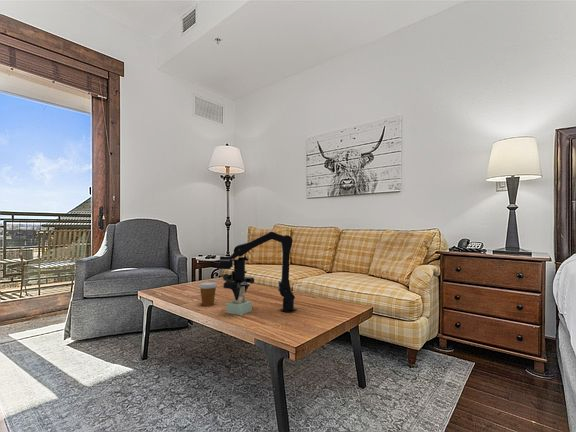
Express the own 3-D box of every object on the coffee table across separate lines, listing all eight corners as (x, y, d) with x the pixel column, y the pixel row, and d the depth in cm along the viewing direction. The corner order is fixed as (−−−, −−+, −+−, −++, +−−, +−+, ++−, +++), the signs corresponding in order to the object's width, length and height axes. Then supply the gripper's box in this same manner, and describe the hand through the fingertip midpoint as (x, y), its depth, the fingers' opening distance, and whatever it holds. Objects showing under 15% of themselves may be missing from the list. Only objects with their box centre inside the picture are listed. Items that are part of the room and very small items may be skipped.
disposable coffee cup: (205, 302, 179) (205, 281, 179) (219, 303, 176) (219, 282, 177) (195, 306, 170) (196, 284, 170) (211, 307, 167) (211, 285, 167)
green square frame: (237, 308, 166) (237, 299, 166) (251, 310, 161) (251, 301, 161) (226, 312, 158) (226, 302, 158) (240, 315, 153) (240, 305, 153)
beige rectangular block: (238, 304, 162) (238, 285, 162) (244, 305, 160) (244, 286, 160) (233, 306, 159) (233, 287, 159) (239, 307, 157) (239, 287, 157)
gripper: (238, 265, 172) (238, 293, 172) (215, 270, 156) (215, 301, 155) (254, 267, 166) (254, 296, 166) (232, 272, 150) (232, 304, 150)
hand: (239, 299), depth 160 cm, fingers closed on beige rectangular block, 4 cm apart
